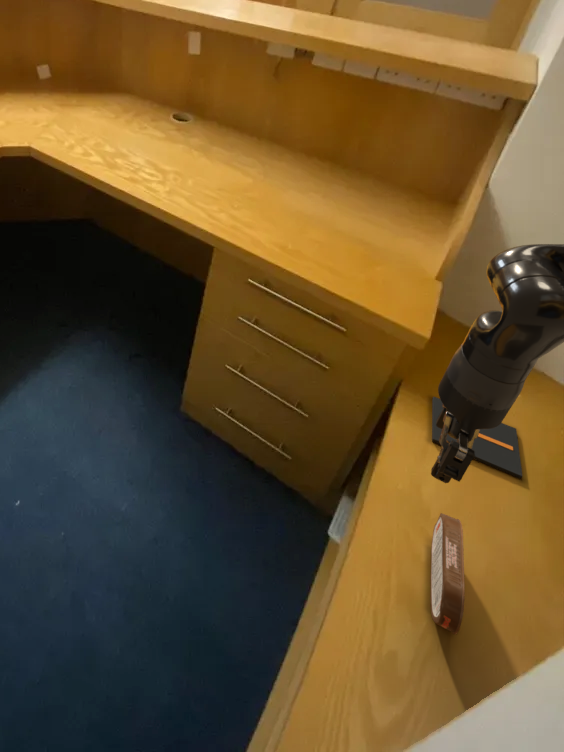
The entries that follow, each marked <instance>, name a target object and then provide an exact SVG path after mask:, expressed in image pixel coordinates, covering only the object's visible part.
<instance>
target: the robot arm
mask: <svg viewBox="0 0 564 752" xmlns="http://www.w3.org/2000/svg"><path fill="white" fill-rule="evenodd" d="M486 278H487V281H488V283H489V285H490V287H491V289H492V291H493V293H494V294H495V296H496V297H495V298H496V299H497V301H498V303H499V305H500V307H501V309H502V310H496V309H494V310H487V311H483V312H482V313H480V314H478V316H477V317H476V318H475V319H474V321H473V323H472V324H471V326H470V328H469V330H468V332H467V333H466V336H465V337H464V340H463V342H462V343H461V344H460V346H459V347H458V348H457V350H456V351H455V353H454V354H453V356H452V358H451V360H450V362H449V364H448V366H447V368H446V370H445V372H444V373H443V376H442V378H441V380H440V382H439V384H438V387H437V393H438V397H439V399H441V401H442V403H443V410H442V412H441V413H440V415H439V417H438V419H437V422H436V426H437V427H438V428H440V429H442V432H441V435H440V438H439V442H440V444H441V445H440V444H439V445H440V446H441V447H440V450H439V453H438V455H437V457H436V460H435V462H434V464H433V466H432V467H431V470H430V475H431V476H432V477H433V478H434V479H436V480H438V481H440V482H442V483H444V484H449V483H450V482H451V480H455V481H456V482H459V483H460V482H461V480H463V477H464V475H465V474H466V472H467V470H468V468H469V467H470V465H471V463H472V461H473V460H474V459H473V458H474V457H475V451H474V450H473V449H472V446H473V443H474V440H475V439H476V438H477V437H478V435H479V431H480V429H491V428H495V427H497V426H498V425H500V424H501V423H503V421H504V419H505V418H506V416H508V415H507V414H508V413H509V412H510V410H511V409H512V407H513V405H514V404H515V402H516V400H517V399H518V398H519V396H520V394H521V392H522V391H523V388H524V385H525V382H526V380H527V378H528V376H529V375H530V373H531V372H532V370H533V369H534V367H535V365H536V364H537V362H538V360H539V359H540V358H542V357H543V356H545V355H547V354H548V353H550V352H552V351H553V350H554V349H556V348H558V346H560V345H562V344H563V343H564V243H534V244H532V243H531V244H524V245H523V244H522V245H518V246H513V247H511V248H507V249H505V250H503V251H501V252H499V253H497V254H496V255H495V256H493V257H492V258H491V259H490V260H489V262H488V264H487V266H486ZM447 434H448V435H449V436H450V437H452V438H454V439H456V440H457V442H455V441H453V440H452V441H451V442H449V441H447V440H446V437H447Z"/></svg>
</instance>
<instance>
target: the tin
mask: <svg viewBox="0 0 564 752" xmlns="http://www.w3.org/2000/svg"><path fill="white" fill-rule="evenodd" d="M430 552H431V553H430V554H431V555H430V613H431V617H432V620H433V622H434V623H435V624H436V625H438V626H439V627H441V628H443V629H445V630H447V631H449V632H450V633H451V634H453V635H458V633H459V631H460V628H461V624H462V622H463V616H464V608H465V594H466V593H465V587H466V586H465V561H464V560H465V558H464V557H465V556H464V555H465V554H464V529H463V525H462V522H461V520H460V519H458V518H454V517H452V516H450V515H448V514H446V513H442V512H441V513H439V516H438V518H437V521H436V522H435V524H434V526H433V532H432V538H431V551H430Z"/></svg>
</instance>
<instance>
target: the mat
mask: <svg viewBox="0 0 564 752" xmlns="http://www.w3.org/2000/svg"><path fill="white" fill-rule="evenodd" d="M431 402H432V404H431V408H432V411H431V416H432V417H431V418H432V419H431V442H433V443H434V444H437V445H440V446H441V444H440V442H439V438H440V435H441V432H442V429H440V428H438V427H437V426H436V422H437V419H438V417H439V415H440V413H441V412H442V410H443V403H442V401H441V399H440V397H439V398H438V397H436V396H433V397H432V400H431ZM446 440H447V441H449V442H451V441H452V440H453V441H455V442H457V440H456V439H454V438H452V437H450V436H449V435H448V434H447V437H446ZM472 449H473V450H474V451H475V457H474V458H473V460H475V461H477V462H480V463H482V464H485V465H487V466H490V467H492V468H494V469H497V470H499V471H502V472H504V473H506V474H508V475H511V476H513V477H515V478H518V479H522V478H523V468H522V461H521V455H520V454H521V453H520V447H519V439H518V433H517V428H516V427H513V426H511V425H508V424H505V423H503V422H501V424H500V425H498V426H497V427H495V428H491V429H480V431H479V435H478V437H477V438H476V439H475V440H474V443H473V446H472Z"/></svg>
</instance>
